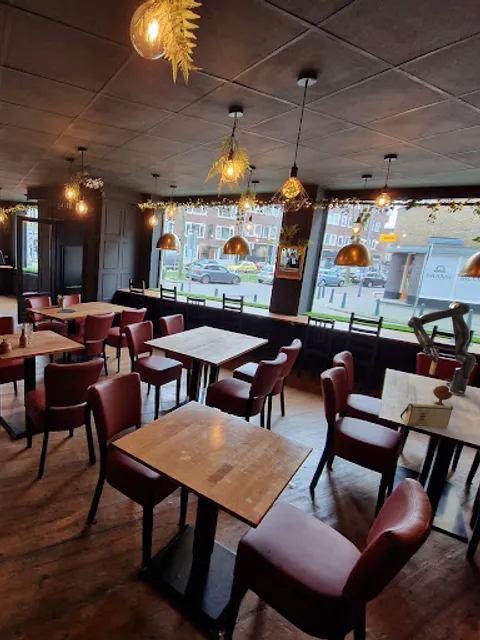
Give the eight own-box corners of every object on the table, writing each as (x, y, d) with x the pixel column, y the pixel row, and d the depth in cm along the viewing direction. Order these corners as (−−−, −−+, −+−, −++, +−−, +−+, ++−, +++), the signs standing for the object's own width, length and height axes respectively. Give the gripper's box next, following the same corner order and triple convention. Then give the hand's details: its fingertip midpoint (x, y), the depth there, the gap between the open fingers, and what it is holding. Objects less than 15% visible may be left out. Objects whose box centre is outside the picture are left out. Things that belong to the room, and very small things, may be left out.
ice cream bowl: (453, 408, 241) (458, 388, 238) (437, 407, 241) (442, 387, 238) (441, 401, 251) (446, 382, 248) (426, 400, 252) (431, 381, 248)
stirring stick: (429, 372, 252) (434, 354, 249) (434, 374, 250) (439, 356, 247) (428, 373, 251) (432, 355, 248) (433, 374, 248) (438, 356, 245)
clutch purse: (440, 423, 217) (446, 401, 214) (449, 429, 210) (456, 406, 207) (395, 421, 215) (400, 399, 212) (403, 426, 209) (409, 404, 205)
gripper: (422, 338, 250) (435, 360, 241) (436, 338, 254) (449, 359, 245) (413, 343, 256) (426, 364, 247) (427, 343, 260) (440, 364, 251)
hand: (437, 362), depth 246 cm, fingers closed on stirring stick, 3 cm apart
